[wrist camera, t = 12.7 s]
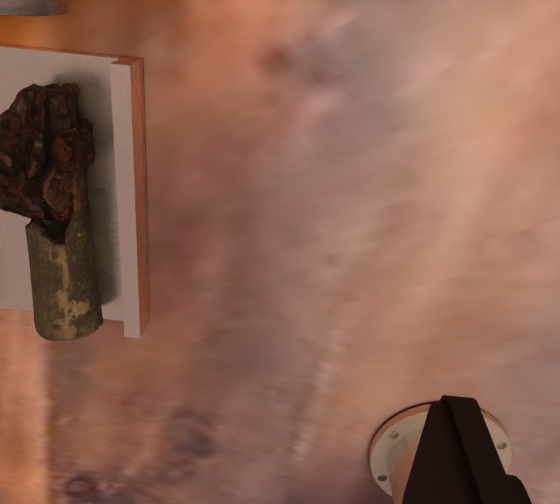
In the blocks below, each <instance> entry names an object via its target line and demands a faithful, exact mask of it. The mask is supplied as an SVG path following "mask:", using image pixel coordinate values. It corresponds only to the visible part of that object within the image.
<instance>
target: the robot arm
mask: <svg viewBox="0 0 560 504" xmlns="http://www.w3.org/2000/svg"><path fill="white" fill-rule="evenodd" d="M369 460H370V469H371V472H372V475H373V478H374V480H375V481H376V483H377V484H378V486H379V487H380V488H381V489H382V490H383V491H384V492H385V493H387V494H388V495H390V496H391V497H393V503H394V504H532V503H531V501H530V498H529V496H528V494H527V491H526V489H525V487H524V485H523V484H522V482H521V480H519V479H518V478H517V477H516V476H513V475H506V474H507V472H508V470H509V469H510V465H511V462H512V447H511V443H510V440H509V438H508V436H507V434H506V432H505V429H504V428H503V427H502V425H501V424H500V423H499V422H498V421H497V420H496V419H495V418H494V417H492V416H491V415H490V414H488V413H486V412H484V411H482V410H480V407H479V405H478V403H477V401H476V400H475V399H474V398H467V397H457V396H446V395H444V396H442V397H441V399H440V401H439V403H437V402H432V403H431V404H426V405H421V406H418V407H415V408H411V409H409V410H407V411H404V412H402V413H400V414H398V415H397V416H395V417H394V418H392V419H391V420H389V421H388V422H387V423H386V424H385V425H384V426H383V427H382V428H381V429H380V430H379V431H378V433H377V434H376V435H375V437H374V438H373V441H372V444H371V446H370V452H369Z"/></svg>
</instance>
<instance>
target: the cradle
mask: <svg viewBox="0 0 560 504" xmlns="http://www.w3.org/2000/svg"><path fill="white" fill-rule="evenodd" d="M33 83H34V84H37V85H41V86H45V85H48V84H58V85H59V86H62V85H63V84H65V83H69V84H72V83H76V84H77V85H78V86H79V88H80V97H79V100H78V101H77V102H76V104H77V107H78V108H79V110H80V112H81V115H82V117H83V118H84V119H87V120H88V121H90V122H91V123H92V126H93V134H92V136H93V138H94V140H95V144H94V149H95V153H96V154H95V161H94V163H93V164H91V165H89V169H88V173H87V180H88V194H89V206H90V215H91V225H92V237H93V247H94V256H95V263H96V270H97V277H98V284H99V294H100V301H101V309H102V315H103V319H111V320H121V321H124V337H132V338H141V335H142V333H143V331H144V329H145V326H146V324H147V322H148V320H149V317H150V290H149V251H148V213H147V174H146V136H145V97H144V58H136V57H127V56H117V55H107V54H97V53H88V52H78V51H68V50H58V49H49V48H39V47H29V46H20V45H10V44H0V114H1V113H3V112H4V111H5V110H7V109H9V107H10V105H11V104H12V103H13V101H14V99H15V97H16V95H17V93H18V92H19V91H21V90H22V89H23V88H26V87H29V86H30V85H32V84H33ZM30 221H31V219H30V218H27V217H24V216H21V215H18V214H15V213H12V212H6V211H3V210H1V209H0V309H10V310H20V311H30V312H34V311H33V299H32V287H31V276H30V264H29V255H28V246H27V239H26V231H25V226H26V225H27V224H29V223H30Z"/></svg>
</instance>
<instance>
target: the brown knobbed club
mask: <svg viewBox="0 0 560 504" xmlns="http://www.w3.org/2000/svg"><path fill="white" fill-rule="evenodd" d="M79 97H80V88H79V86H78V85H77V84H76V83H72V84H69V83H65V84H63V85H62V86H59V85H58V84H48V85H45V86H41V85H37V84H34V83H33V84H32V85H30V86H29V87H26V88H23V89H22V90H21V91H19V92H18V93H17V95H16V97H15V99H14V101H13V103H12V104H11V105H10V107H9V109H7V110H5V111H4V112H3V113H1V114H0V209H1V210H3V211H6V212H12V213H15V214H18V215H21V216H24V217H27V218H30V219H31V221H30V223H29V224H27V225H26V226H25V231H26V239H27V246H28V255H29V264H30V276H31V287H32V299H33V311H34V321H35V327H36V330H37V332H38V334H39V335H40V336H41V337H43V338H45V339H46V340H52V341H59V340H74V339H80V338H84V337H86V336H89V335H91V334H92V333H94V332H95V331H96V330H97V329H98V328H99V325H100V326H101V325H102V324H103V315H102V309H101V301H100V294H99V284H98V277H97V270H96V263H95V256H94V247H93V237H92V225H91V215H90V206H89V194H88V180H87V173H88V169H89V165H91V164H93V163H94V161H95V154H96V153H95V149H94V144H95V140H94V138H93V136H92V134H93V126H92V123H91V122H90V121H88V120H87V119H84V118H83V117H82V115H81V112H80V110H79V108H78V107H77V104H76V102H77V101H78V100H79Z"/></svg>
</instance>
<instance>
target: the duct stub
mask: <svg viewBox="0 0 560 504" xmlns="http://www.w3.org/2000/svg"><path fill="white" fill-rule="evenodd" d="M65 13H66V4H65V0H0V15H19V16H50V15H61V14H65Z"/></svg>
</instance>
